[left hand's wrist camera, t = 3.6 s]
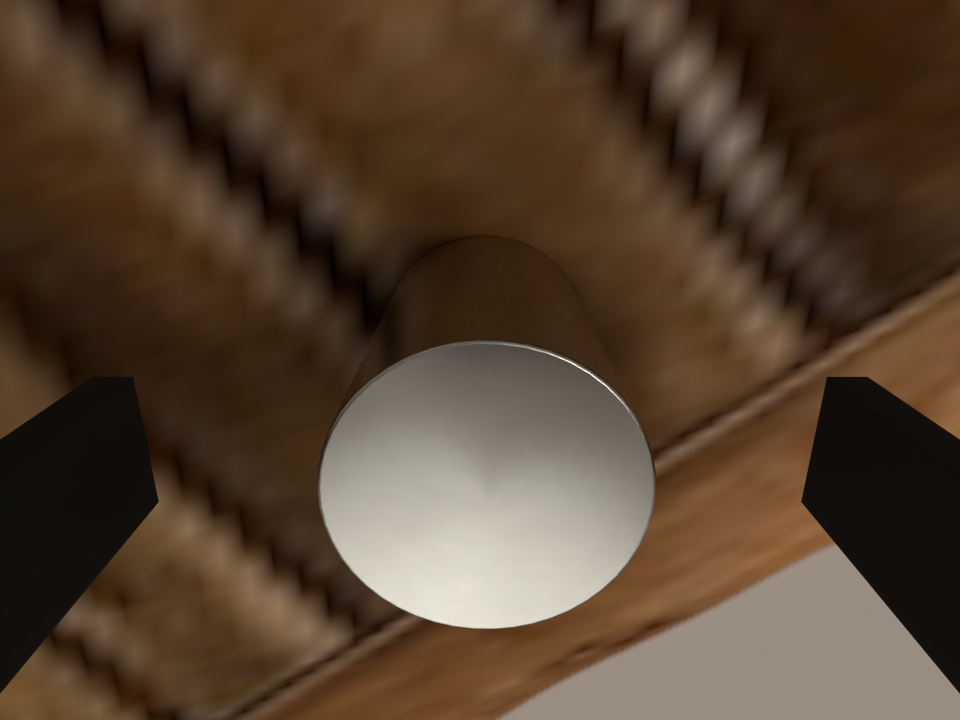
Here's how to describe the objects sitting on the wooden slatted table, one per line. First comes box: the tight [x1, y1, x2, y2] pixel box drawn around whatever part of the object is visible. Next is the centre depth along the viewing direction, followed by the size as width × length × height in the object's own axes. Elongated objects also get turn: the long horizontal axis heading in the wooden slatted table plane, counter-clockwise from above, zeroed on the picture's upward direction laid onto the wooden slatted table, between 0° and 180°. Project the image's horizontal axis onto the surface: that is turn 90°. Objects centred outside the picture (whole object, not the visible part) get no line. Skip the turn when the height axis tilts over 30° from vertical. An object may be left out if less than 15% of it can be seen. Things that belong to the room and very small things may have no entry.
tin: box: [317, 236, 656, 629], centre depth 14 cm, size 5×5×8 cm
